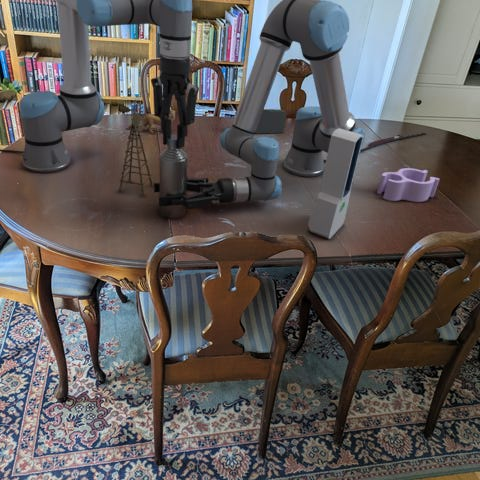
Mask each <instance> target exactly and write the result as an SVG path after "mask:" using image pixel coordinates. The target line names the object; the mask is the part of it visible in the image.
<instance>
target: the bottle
mask: <svg viewBox="0 0 480 480" xmlns="http://www.w3.org/2000/svg"><path fill="white" fill-rule="evenodd" d="M188 158H189V155H188V154H187V152H186V151H184V150H183V149H182V148H180V149H177V147H169V146H167V147H166V148H165V149H163V150H162V151H161V152H160V154H159V163H158V164H159V166H158V167H159V183H160V192H159V197H163V196H180V195H182V199H183V195H185V196H187V195H188V194H187V192H188V191H187V178H188V163H189V161H188V160H189V159H188ZM159 214H160V216H162V217H164V218H165V219H180V218H182V217H185V215H186V214H187V209H186V206H183V205H174V206H159Z"/></svg>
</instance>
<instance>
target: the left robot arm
mask: <svg viewBox="0 0 480 480" xmlns="http://www.w3.org/2000/svg"><path fill="white" fill-rule="evenodd" d="M54 1H55V2H56V5H57V18H58V28H59V41H60V52H61V64H62V65H61V66H62V78H63V82H62V84H61V85H60V86H59V94H57V93H56V92H54V91H51V90H44V91H42V90H37V91H33V92H30V93H27V94H25V95H24V96H22V97H21V98H20V100H19V103H18V104H19V116H20V119H21V125H22V132H23V137H24V148H23V150H14V149H13V150H12V149H1V148H0V152H4V153H15V154H22V158H21V159H22V160H21V161H22V166H23V168H24V169H25V170H27V171H29V172H33V173H39V174H46V173H56V172H61V171H63V170H66V169H67V168H69V167H70V166H71V163H72V159H71V155H70V153H69V151H68V150H67V149H68V148H67V147H66V145H65V143H64V140H63V133H64V132H68V131H74V130H79V129H83V128H90V127H92V126H97V125H98V124H99V123H101V122H102V120H103V118H104V115H105V102H104V101H103V96H102V94H101V93H100V92H99V91H98V90H97V87H96V86H94V84H93V83H92V73H91V72H92V71H91V53H90V52H91V51H90V36H89V35H90V34H89V33H90V32H89V27H97V28H98V27H99V28H103V27H111V26H113V27H114V26H125V25H128V26H129V25H132V26H133V25H153V26H157V27H159V54H160V56H159V71H160V74H159V76H157V77H153V78H151V79H150V83H151V86H152V93H153V96H152V97H153V116H156V117H157V116H158V117H159V118H160V120H161V125H160V131H161V132H162V145H164V146H167V136H169V135H172V124H171V119H168V118H169V117H170V116H169V112H170V109H171V106H172V102H173V96H174V99H175V101H176V106H177V113H178V121H179V123H178V124H177V125H176V135H177V149H182V148H184V147H185V146H186V145H185V144H186V141H185V140H186V137H187V136H188V126H189V125H192V124H194V123H195V118H196V107H197V96H198V93H199V91H200V87H199V86H197V85H196V86H195V85H193V84H192V83H191V79H190V73H191V59H190V56H191V53H192V52H191V50H192V49H191V46H192V21H193V20H192V19H193V18H192V16H193V9H194V8H193V0H54ZM186 98H187V99H186Z"/></svg>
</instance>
